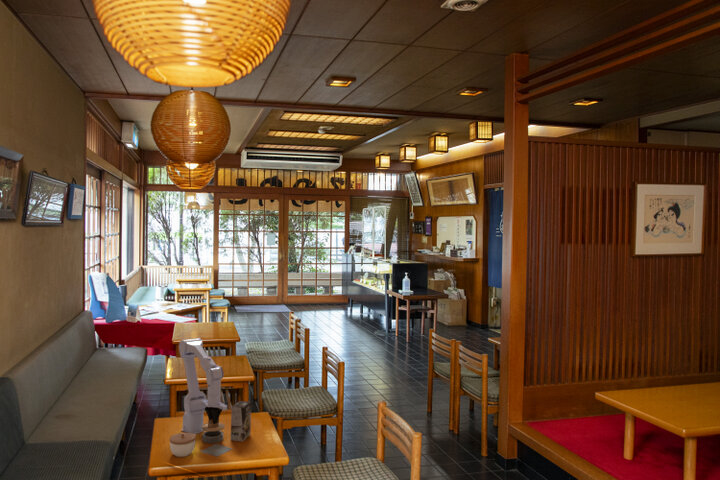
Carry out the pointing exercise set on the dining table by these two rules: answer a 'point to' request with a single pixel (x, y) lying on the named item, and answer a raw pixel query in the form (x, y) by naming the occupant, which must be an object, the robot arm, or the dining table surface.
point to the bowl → (212, 436)
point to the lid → (213, 426)
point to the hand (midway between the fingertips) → (213, 422)
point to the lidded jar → (182, 444)
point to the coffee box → (241, 421)
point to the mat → (216, 450)
